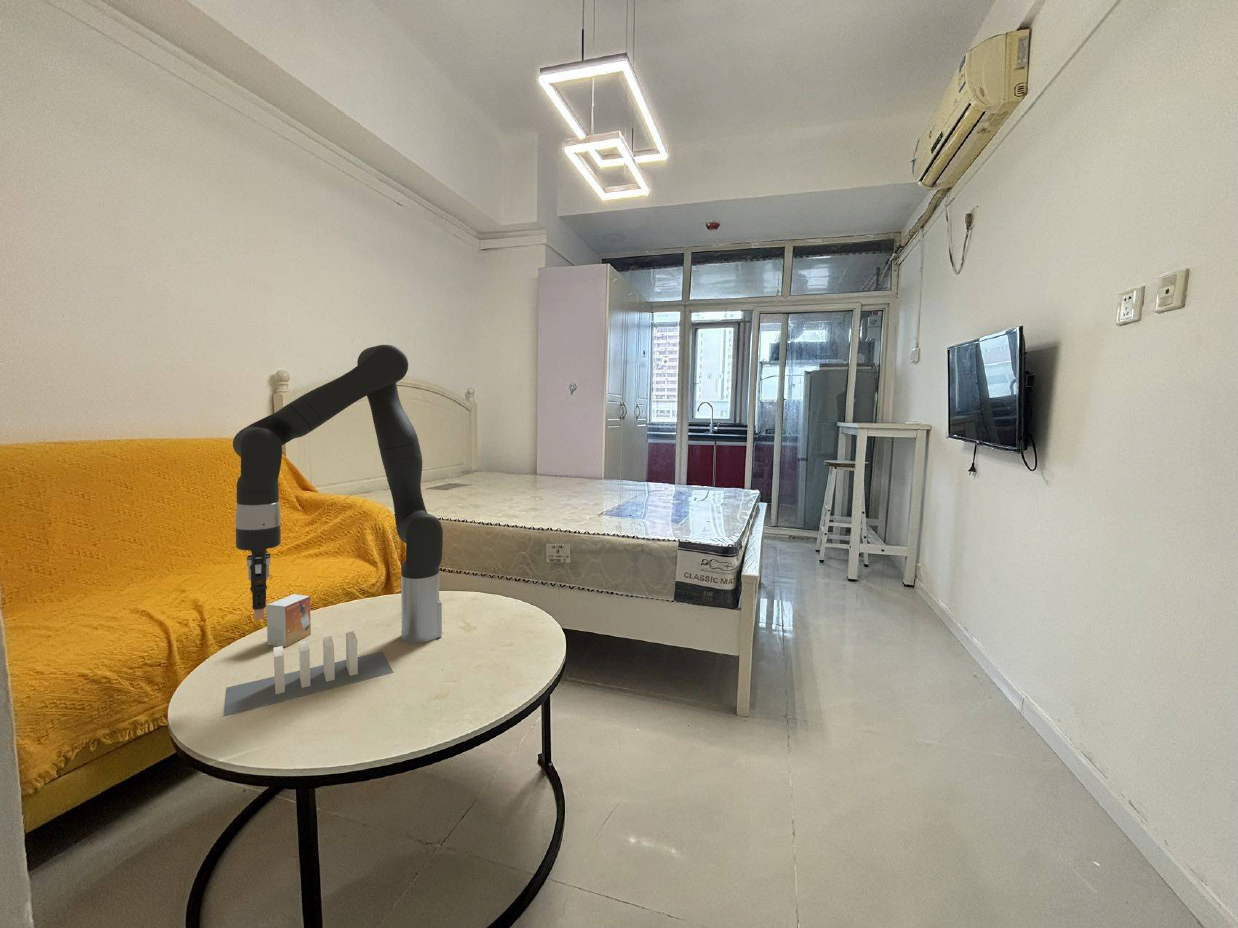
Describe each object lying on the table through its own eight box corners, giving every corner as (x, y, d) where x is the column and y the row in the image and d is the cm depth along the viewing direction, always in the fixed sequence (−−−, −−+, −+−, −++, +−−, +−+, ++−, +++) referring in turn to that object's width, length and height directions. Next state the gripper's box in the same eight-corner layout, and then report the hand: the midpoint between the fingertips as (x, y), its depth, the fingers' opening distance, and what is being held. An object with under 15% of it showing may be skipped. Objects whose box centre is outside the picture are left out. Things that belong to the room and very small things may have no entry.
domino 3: (308, 675, 109) (307, 640, 108) (310, 685, 105) (309, 649, 104) (299, 677, 108) (298, 642, 107) (301, 687, 104) (300, 651, 103)
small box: (285, 648, 122) (284, 606, 121) (266, 645, 123) (265, 604, 122) (311, 634, 130) (310, 595, 129) (293, 631, 131) (292, 593, 130)
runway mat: (382, 652, 121) (382, 651, 121) (393, 673, 112) (393, 672, 111) (226, 689, 103) (226, 687, 103) (223, 718, 94) (223, 716, 94)
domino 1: (264, 610, 106) (263, 574, 105) (264, 618, 102) (263, 580, 101) (255, 612, 105) (254, 575, 105) (254, 620, 101) (253, 582, 100)
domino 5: (354, 664, 114) (353, 631, 114) (357, 673, 110) (357, 639, 110) (346, 666, 113) (345, 632, 113) (349, 675, 109) (349, 641, 109)
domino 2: (283, 681, 106) (282, 645, 106) (284, 692, 102) (283, 655, 102) (274, 683, 105) (273, 647, 105) (275, 694, 101) (274, 657, 101)
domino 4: (331, 669, 112) (331, 635, 111) (334, 679, 108) (333, 644, 107) (323, 671, 111) (322, 637, 110) (326, 681, 107) (325, 646, 106)
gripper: (281, 529, 98) (281, 612, 100) (280, 516, 110) (280, 591, 111) (233, 532, 94) (234, 619, 95) (237, 519, 106) (238, 596, 107)
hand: (259, 604), depth 103 cm, fingers closed on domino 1, 5 cm apart
